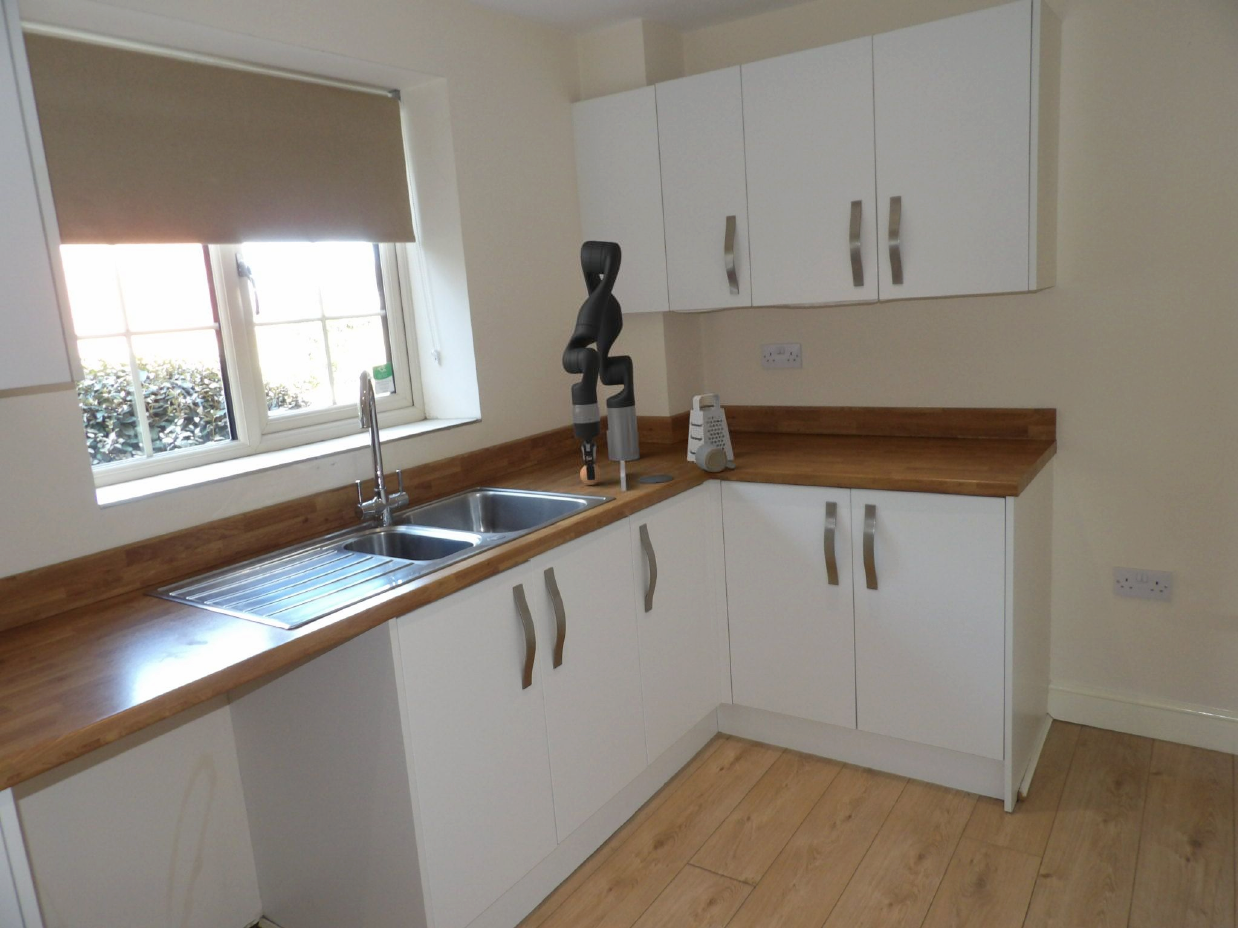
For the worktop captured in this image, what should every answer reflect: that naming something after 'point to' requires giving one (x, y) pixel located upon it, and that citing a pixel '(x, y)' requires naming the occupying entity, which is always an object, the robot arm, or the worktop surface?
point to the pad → (655, 478)
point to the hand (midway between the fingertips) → (591, 477)
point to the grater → (708, 428)
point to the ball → (584, 476)
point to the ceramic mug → (712, 458)
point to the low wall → (623, 475)
